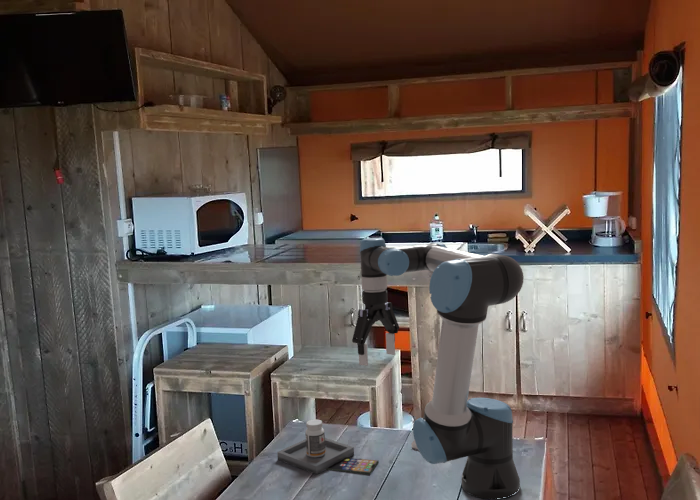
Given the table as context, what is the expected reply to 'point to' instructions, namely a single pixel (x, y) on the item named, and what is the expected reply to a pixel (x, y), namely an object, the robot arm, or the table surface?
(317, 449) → the pill bottle
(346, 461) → the smartphone
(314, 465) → the slate tray
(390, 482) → the table surface
